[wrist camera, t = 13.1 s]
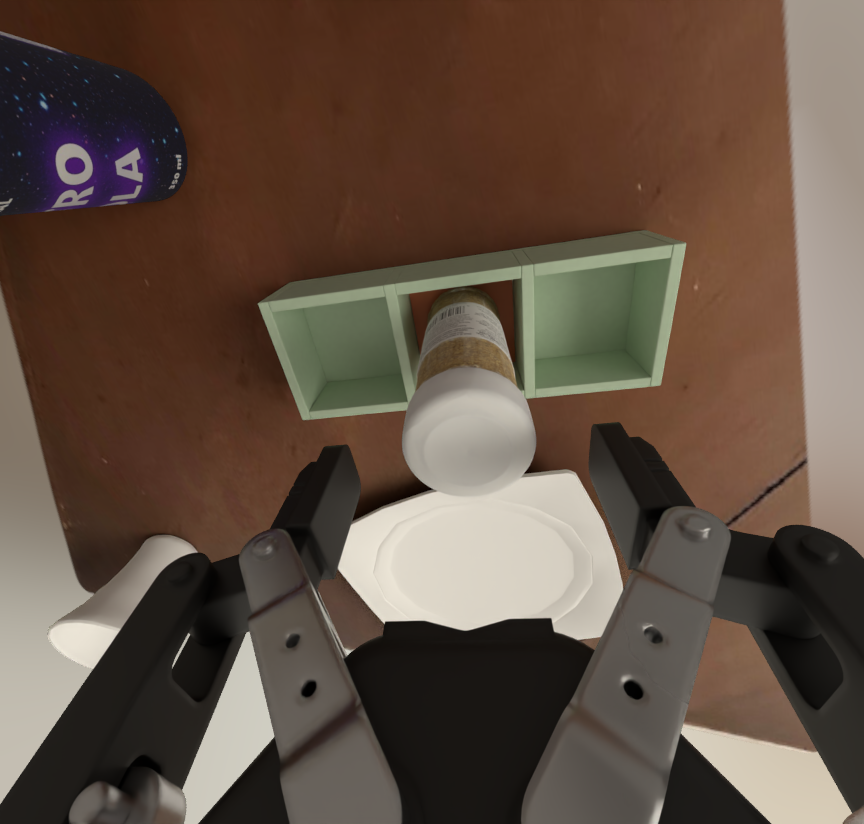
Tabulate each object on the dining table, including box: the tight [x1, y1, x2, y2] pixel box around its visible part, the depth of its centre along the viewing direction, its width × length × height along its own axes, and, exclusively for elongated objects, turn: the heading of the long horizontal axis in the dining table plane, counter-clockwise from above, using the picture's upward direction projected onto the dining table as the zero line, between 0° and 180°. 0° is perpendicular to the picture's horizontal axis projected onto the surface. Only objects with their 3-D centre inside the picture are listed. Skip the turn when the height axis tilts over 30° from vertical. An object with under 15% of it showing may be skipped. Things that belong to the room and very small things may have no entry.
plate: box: [338, 469, 623, 640], centre depth 37 cm, size 24×24×3 cm
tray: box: [258, 230, 686, 420], centre depth 23 cm, size 21×8×5 cm, turn 99°
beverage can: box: [0, 32, 187, 216], centre depth 16 cm, size 6×6×12 cm
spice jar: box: [402, 286, 536, 497], centre depth 18 cm, size 5×5×13 cm
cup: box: [47, 535, 198, 669], centre depth 36 cm, size 9×9×10 cm
